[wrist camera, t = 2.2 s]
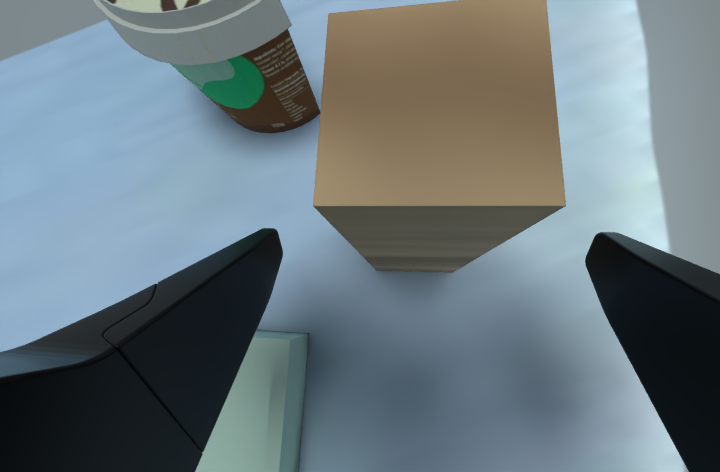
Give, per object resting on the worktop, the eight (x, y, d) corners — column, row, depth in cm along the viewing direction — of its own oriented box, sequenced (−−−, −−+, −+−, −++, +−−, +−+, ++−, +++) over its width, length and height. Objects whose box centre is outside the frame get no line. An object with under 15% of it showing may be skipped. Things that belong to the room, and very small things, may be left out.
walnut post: (452, 272, 18) (566, 205, 5) (376, 270, 18) (313, 206, 6) (451, 199, 19) (545, -9, 6) (378, 199, 19) (328, 13, 7)
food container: (177, 78, 24) (22, -74, 14) (237, 27, 24) (123, -156, 14) (266, 184, 21) (144, 83, 11) (333, 126, 21) (271, -24, 11)
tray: (291, 563, 16) (265, 622, 13) (102, 527, 18) (42, 572, 15) (308, 333, 18) (290, 339, 15) (140, 322, 20) (95, 326, 17)
